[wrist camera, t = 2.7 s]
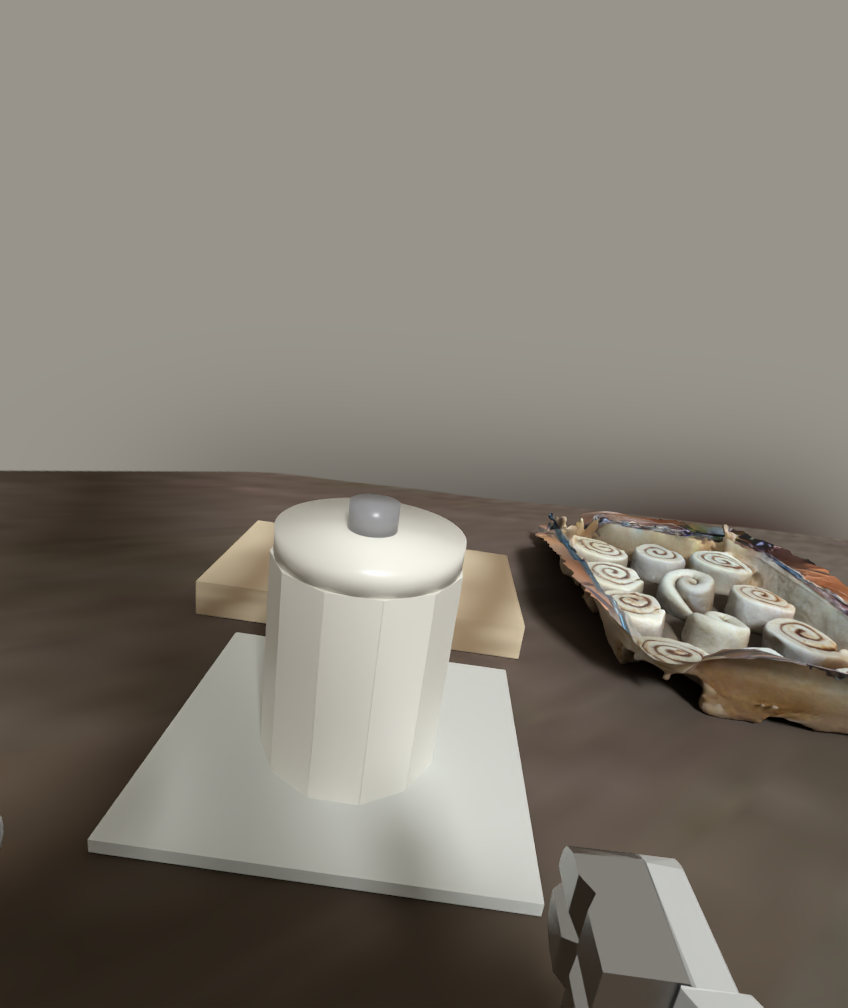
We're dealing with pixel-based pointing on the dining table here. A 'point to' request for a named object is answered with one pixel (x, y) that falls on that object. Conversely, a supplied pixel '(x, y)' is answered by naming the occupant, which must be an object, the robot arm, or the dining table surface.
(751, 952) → the dining table surface
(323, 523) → the lidded storage canister
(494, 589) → the maple board
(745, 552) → the baking tray
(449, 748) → the rubber mat
